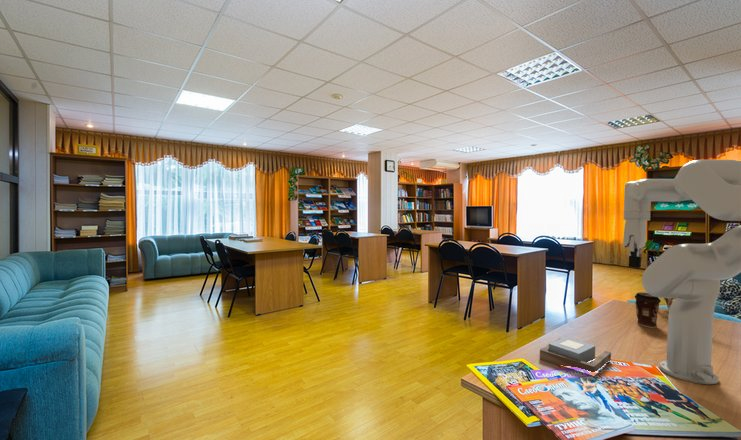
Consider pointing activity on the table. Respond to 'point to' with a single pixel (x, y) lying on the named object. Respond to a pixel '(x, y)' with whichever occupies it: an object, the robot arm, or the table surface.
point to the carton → (573, 349)
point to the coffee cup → (647, 309)
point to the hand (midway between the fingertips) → (634, 267)
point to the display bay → (574, 360)
